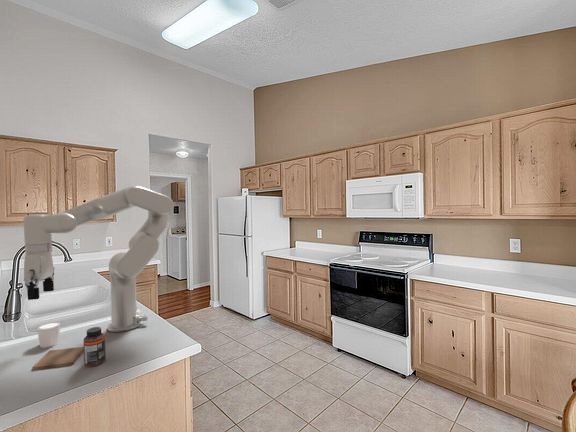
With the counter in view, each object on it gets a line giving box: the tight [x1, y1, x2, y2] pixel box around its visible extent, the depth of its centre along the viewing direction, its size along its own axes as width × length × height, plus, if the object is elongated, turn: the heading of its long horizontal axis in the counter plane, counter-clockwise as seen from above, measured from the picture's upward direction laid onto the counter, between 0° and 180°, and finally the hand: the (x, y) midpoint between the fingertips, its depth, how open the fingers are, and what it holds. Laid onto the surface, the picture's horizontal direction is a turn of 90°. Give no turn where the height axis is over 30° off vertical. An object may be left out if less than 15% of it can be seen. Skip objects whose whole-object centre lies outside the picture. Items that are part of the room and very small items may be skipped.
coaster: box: [32, 346, 84, 371], centre depth 101 cm, size 11×11×1 cm
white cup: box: [36, 322, 61, 348], centre depth 111 cm, size 7×7×7 cm
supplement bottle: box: [83, 326, 106, 368], centre depth 98 cm, size 6×6×11 cm
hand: (41, 295), depth 109 cm, fingers open, 9 cm apart
